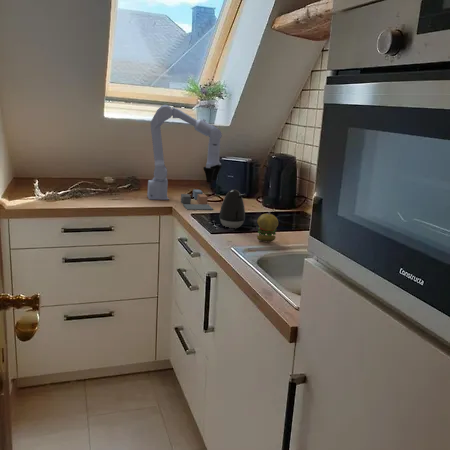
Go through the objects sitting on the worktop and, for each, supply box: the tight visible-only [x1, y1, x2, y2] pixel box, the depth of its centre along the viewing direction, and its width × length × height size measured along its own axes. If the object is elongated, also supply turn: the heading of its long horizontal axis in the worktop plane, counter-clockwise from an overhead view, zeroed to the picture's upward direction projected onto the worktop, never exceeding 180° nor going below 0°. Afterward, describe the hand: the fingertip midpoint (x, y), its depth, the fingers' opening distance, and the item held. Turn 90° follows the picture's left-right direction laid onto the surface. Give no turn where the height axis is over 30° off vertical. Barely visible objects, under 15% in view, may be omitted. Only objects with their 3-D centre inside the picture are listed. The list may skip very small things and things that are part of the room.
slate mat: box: [182, 203, 214, 211], centre depth 221 cm, size 12×9×1 cm
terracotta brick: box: [196, 193, 209, 204], centre depth 230 cm, size 4×6×4 cm, turn 15°
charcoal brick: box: [180, 193, 192, 205], centre depth 228 cm, size 4×6×4 cm, turn 15°
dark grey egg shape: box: [219, 189, 247, 229], centre depth 192 cm, size 10×10×15 cm
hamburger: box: [256, 211, 279, 243], centre depth 175 cm, size 8×7×12 cm
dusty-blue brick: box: [192, 189, 204, 201], centre depth 241 cm, size 4×6×4 cm, turn 15°
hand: (211, 181), depth 236 cm, fingers open, 7 cm apart
